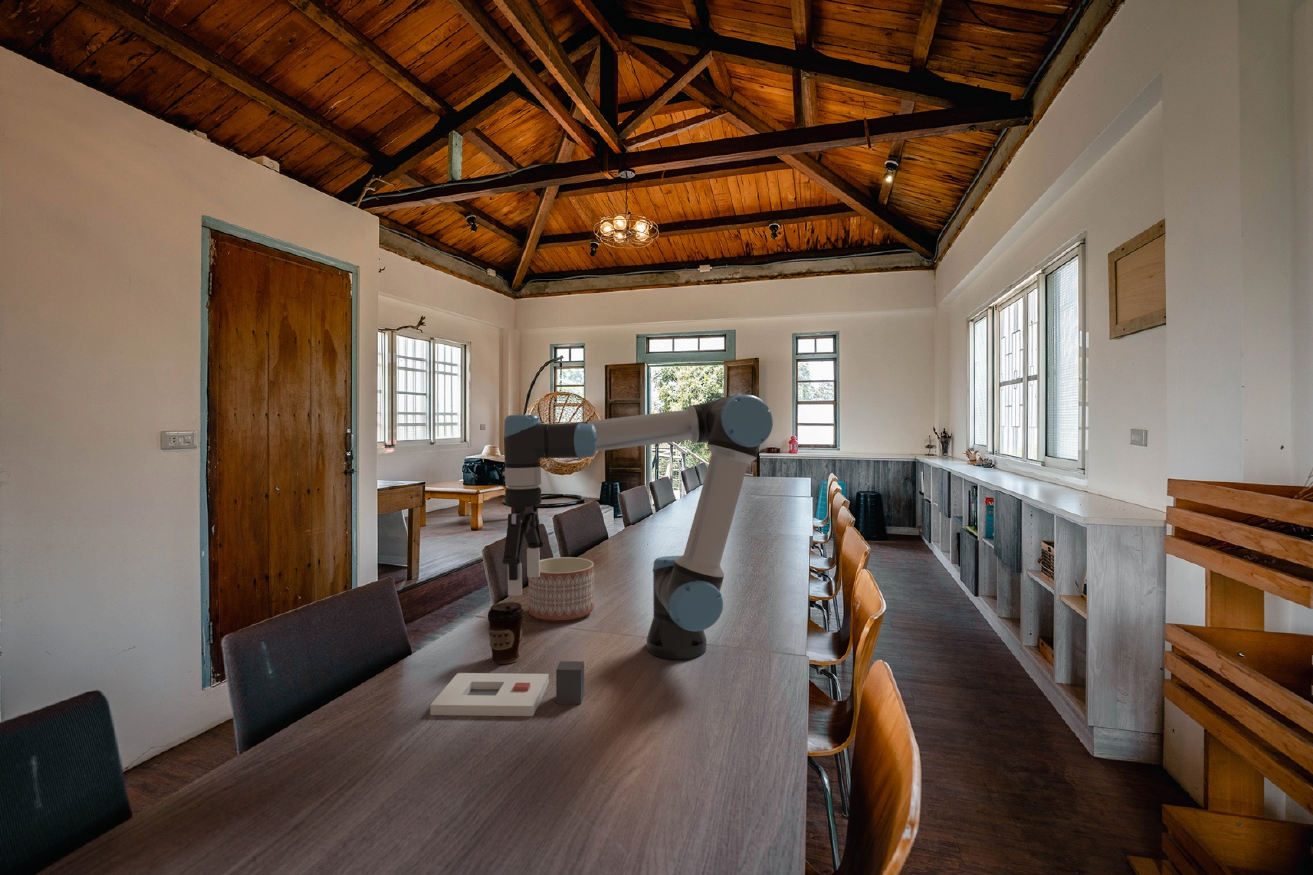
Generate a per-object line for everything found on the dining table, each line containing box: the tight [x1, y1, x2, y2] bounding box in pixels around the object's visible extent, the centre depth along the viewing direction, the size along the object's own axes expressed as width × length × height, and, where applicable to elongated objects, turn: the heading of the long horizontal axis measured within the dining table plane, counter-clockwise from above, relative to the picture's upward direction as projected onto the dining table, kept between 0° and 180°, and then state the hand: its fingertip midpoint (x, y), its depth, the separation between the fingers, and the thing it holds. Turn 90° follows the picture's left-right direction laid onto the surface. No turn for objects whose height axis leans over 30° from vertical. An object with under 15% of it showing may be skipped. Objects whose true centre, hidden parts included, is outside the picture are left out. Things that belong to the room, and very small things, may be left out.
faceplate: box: [429, 672, 550, 717], centre depth 115 cm, size 20×14×3 cm
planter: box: [528, 556, 595, 624], centre depth 167 cm, size 19×19×15 cm
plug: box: [555, 660, 585, 705], centre depth 115 cm, size 5×4×7 cm
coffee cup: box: [487, 601, 525, 665], centre depth 134 cm, size 9×8×13 cm
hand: (524, 585), depth 120 cm, fingers open, 13 cm apart
